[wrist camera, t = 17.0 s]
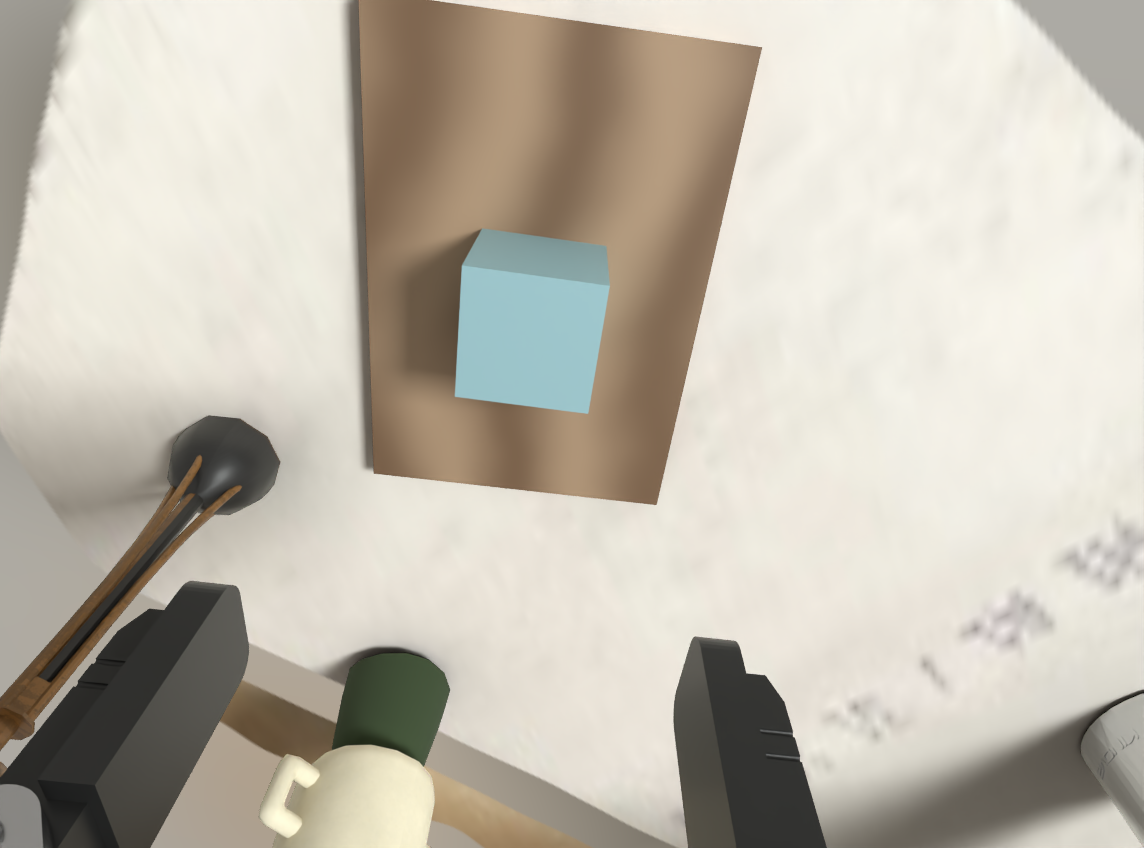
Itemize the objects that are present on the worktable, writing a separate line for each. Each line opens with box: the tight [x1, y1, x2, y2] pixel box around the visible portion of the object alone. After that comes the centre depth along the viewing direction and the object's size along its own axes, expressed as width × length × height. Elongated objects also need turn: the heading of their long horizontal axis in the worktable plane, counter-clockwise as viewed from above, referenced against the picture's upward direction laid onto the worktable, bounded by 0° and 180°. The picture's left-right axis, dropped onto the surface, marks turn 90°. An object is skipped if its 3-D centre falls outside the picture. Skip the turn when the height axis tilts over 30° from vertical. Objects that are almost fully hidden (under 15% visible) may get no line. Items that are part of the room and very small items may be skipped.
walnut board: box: [358, 0, 762, 505], centre depth 28 cm, size 14×20×1 cm
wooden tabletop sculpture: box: [0, 416, 280, 777], centre depth 25 cm, size 6×5×20 cm
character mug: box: [259, 653, 450, 848], centre depth 36 cm, size 11×7×13 cm, turn 36°
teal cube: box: [455, 228, 610, 414], centre depth 26 cm, size 5×5×5 cm
